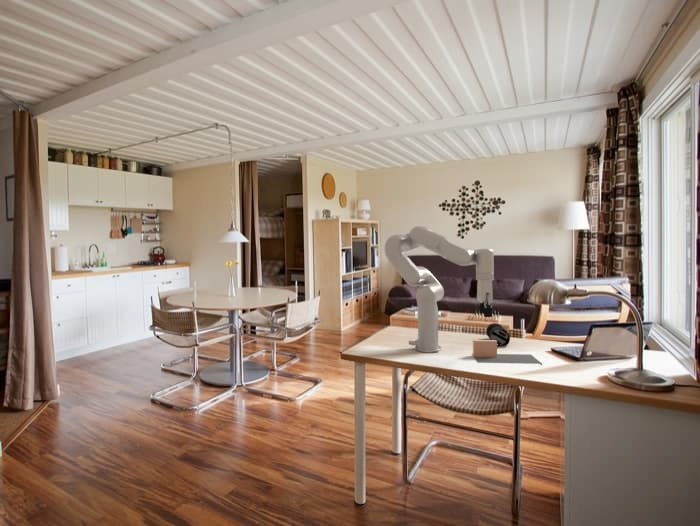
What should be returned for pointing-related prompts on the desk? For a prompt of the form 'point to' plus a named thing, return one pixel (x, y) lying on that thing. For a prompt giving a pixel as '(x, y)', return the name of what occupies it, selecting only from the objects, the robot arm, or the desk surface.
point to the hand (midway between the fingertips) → (485, 315)
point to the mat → (509, 359)
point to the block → (484, 348)
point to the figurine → (498, 334)
